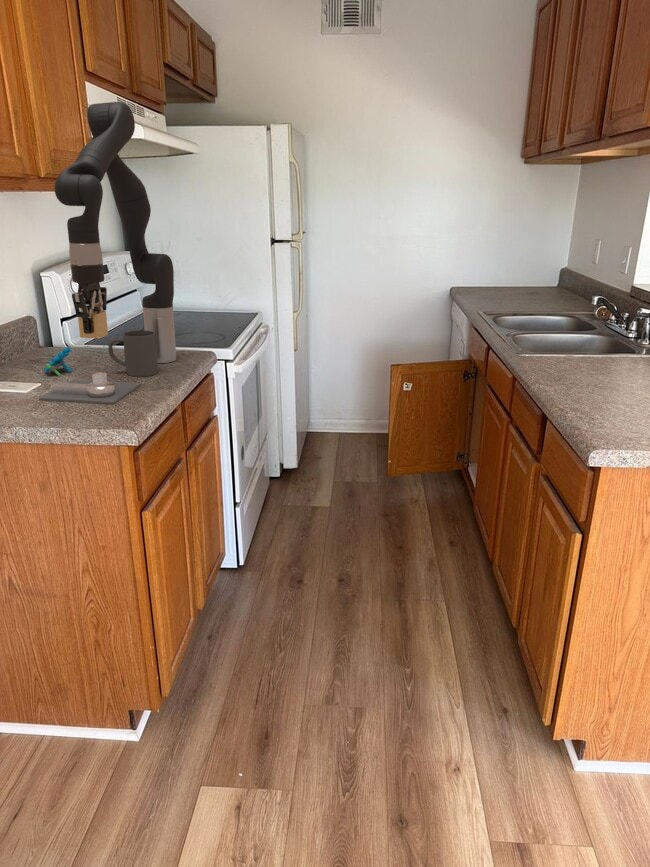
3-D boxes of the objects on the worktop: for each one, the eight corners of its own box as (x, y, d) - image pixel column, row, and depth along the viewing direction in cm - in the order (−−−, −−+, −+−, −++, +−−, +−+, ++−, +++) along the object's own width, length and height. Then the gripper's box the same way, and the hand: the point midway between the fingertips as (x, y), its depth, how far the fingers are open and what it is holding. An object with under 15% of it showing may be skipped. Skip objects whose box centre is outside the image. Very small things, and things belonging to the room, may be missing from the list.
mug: (159, 369, 196) (156, 330, 192) (156, 376, 188) (153, 336, 183) (113, 369, 194) (109, 330, 190) (108, 377, 186) (104, 336, 182)
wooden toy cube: (89, 333, 165) (87, 310, 163) (108, 334, 165) (105, 311, 163) (80, 337, 161) (77, 313, 159) (99, 338, 160) (96, 314, 158)
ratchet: (61, 387, 173) (58, 368, 171) (119, 391, 171) (117, 371, 169) (47, 395, 166) (44, 374, 164) (108, 398, 164) (106, 378, 163)
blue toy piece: (57, 361, 196) (73, 340, 191) (71, 375, 197) (88, 355, 192) (34, 375, 187) (51, 353, 182) (50, 389, 188) (67, 368, 183)
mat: (73, 381, 181) (73, 379, 181) (141, 385, 179) (141, 383, 179) (39, 400, 164) (38, 397, 164) (113, 404, 162) (113, 402, 162)
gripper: (86, 259, 164) (93, 325, 170) (56, 264, 150) (65, 336, 156) (114, 260, 163) (120, 326, 169) (87, 265, 149) (94, 337, 155)
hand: (93, 330), depth 162 cm, fingers closed on wooden toy cube, 5 cm apart
